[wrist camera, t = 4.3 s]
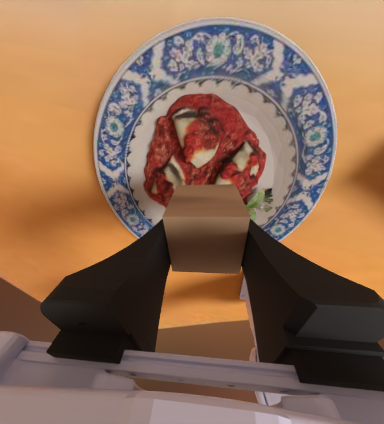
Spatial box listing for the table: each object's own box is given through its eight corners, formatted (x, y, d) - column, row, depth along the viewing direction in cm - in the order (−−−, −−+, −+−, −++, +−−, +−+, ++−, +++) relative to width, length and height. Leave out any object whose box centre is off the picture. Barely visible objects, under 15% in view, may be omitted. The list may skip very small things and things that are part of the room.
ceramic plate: (79, 192, 21) (61, 201, 19) (188, -88, 9) (181, -165, 7) (211, 272, 28) (211, 287, 26) (367, 170, 16) (397, 178, 14)
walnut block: (230, 230, 13) (239, 273, 10) (181, 230, 14) (172, 271, 10) (235, 184, 11) (250, 216, 7) (176, 185, 12) (162, 216, 8)
